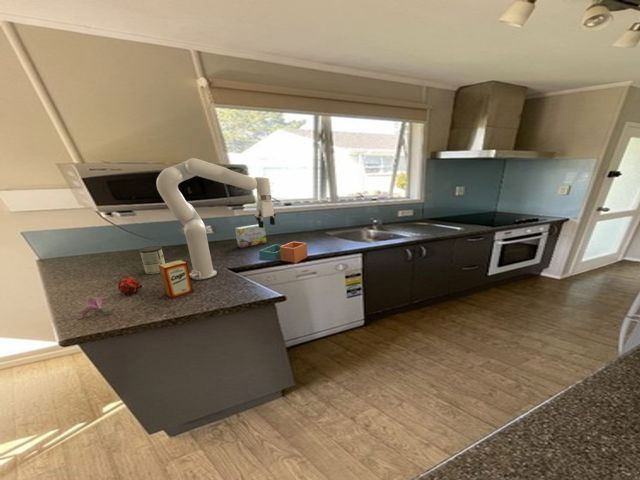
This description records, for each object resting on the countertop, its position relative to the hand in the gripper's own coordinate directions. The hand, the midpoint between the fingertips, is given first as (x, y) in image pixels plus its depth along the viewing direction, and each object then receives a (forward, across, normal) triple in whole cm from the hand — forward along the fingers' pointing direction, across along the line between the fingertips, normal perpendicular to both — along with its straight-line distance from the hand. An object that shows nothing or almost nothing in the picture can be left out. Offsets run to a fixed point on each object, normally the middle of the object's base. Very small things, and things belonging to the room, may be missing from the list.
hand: (267, 226), depth 175 cm
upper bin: (+25, -15, +7) cm, 30 cm away
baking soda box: (+26, +50, -14) cm, 58 cm away
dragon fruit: (+27, +58, -36) cm, 73 cm away
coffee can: (+27, +34, -56) cm, 70 cm away
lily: (+27, +77, -26) cm, 85 cm away
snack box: (+26, -31, -45) cm, 60 cm away
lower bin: (+25, -15, -9) cm, 31 cm away
